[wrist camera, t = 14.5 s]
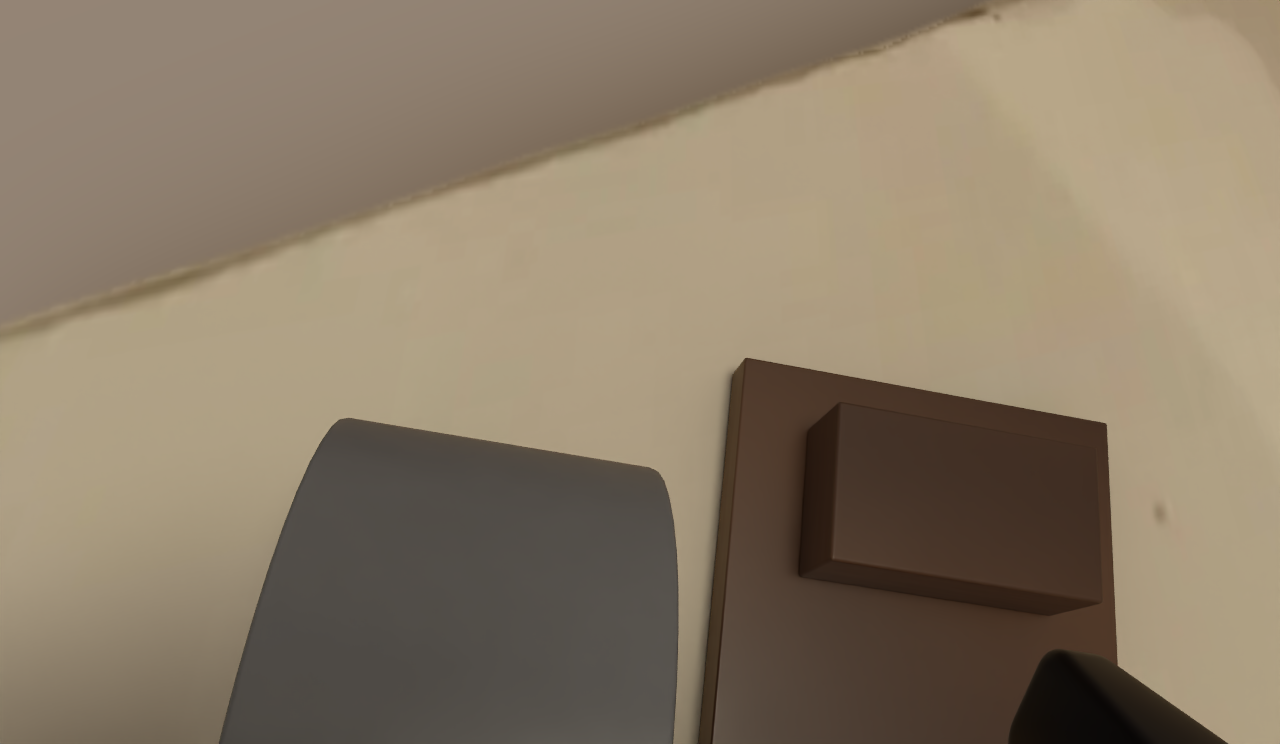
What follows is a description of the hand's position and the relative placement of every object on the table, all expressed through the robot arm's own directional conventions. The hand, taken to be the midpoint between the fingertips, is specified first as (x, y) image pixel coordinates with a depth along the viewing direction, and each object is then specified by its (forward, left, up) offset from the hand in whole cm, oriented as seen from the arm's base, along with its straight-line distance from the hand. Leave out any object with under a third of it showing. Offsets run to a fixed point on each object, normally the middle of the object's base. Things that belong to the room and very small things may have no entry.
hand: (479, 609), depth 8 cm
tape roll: (-1, -1, -12) cm, 12 cm away
